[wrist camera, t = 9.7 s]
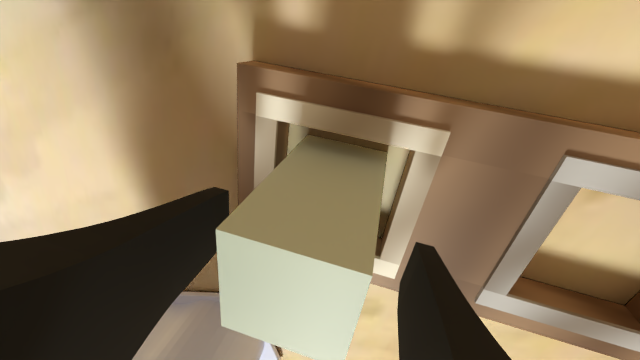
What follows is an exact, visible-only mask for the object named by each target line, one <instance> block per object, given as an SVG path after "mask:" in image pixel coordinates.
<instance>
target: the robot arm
mask: <svg viewBox="0 0 640 360" xmlns="http://www.w3.org/2000/svg"><path fill="white" fill-rule="evenodd" d="M228 216H229V191H227V190H224V189H220V188H216V187H213V188H209V189H206V190H203V191H200V192H197V193H194V194H191V195H188V196H186V197H183V198H180V199H177V200H174V201H172V202H169V203H166V204H163V205H160V206H157V207H154V208H151V209H148V210H145V211H142V212H139V213H136V214H132V215H129V216H126V217H123V218H119V219H116V220H112V221H108V222H104V223H100V224H96V225H92V226H88V227H84V228H79V229H74V230H69V231H64V232H59V233H54V234H49V235H44V236H38V237H32V238H26V239H20V240H13V241H6V242H0V360H281V358H280V356H279V354H278V351H277V349H276V347H275V345H273V344H270V343H267V342H264V341H262V340H259V339H256V338H253V337H251V336H248V335H245V334H242V333H240V332H237V331H234V330H231V329H228V328H226V327H223V326H221V312H220V295H219V293H211V292H183V290H184V289H185V288H186V287H187V286H188V285H189V283H190V282H191V281H192V280H193V279H194V278H195V277H196V275H197V274H198V273H199V272H200V271H201V270H202V269H203V267H204V266H205V265H206V264H207V263H208V262H209V260H210V259H211V258H212V257H213V256H214V254H215V253H216V252H217V245H216V228H217V227H218V226H219V225H220V224H221V223H222V222H223V221H224V220H225V219H226V218H227V217H228ZM398 338H399V360H511V358H510V357H509V356H508V355H507V353H506V352H505V351H504V350H503V349H502V347H501V346H500V345H499V344H498V342H497V341H496V340H495V338H494V337H493V336H492V335H491V333H490V332H489V331H488V329H487V328H486V326H485V325H484V324H483V322H482V321H481V319H480V318H479V317H478V315H477V314H476V313H475V311H474V310H473V308H472V307H471V305H470V304H469V302H468V301H467V299H466V298H465V296H464V295H463V293H462V292H461V290H460V289H459V287H458V285H457V284H456V282H455V281H454V279H453V277H452V276H451V274H450V272H449V271H448V269H447V267H446V266H445V264H444V262H443V261H442V259H441V257H440V256H439V254H438V252H437V251H436V249H435V247H434V246H430V245H426V244H423V243H419V242H416V243H415V246H414V248H413V251H412V253H411V256H410V258H409V261H408V263H407V266H406V268H405V271H404V273H403V276H402V278H401V280H400V285H399V296H398Z"/></svg>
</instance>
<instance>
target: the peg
mask: <svg viewBox="0 0 640 360" xmlns="http://www.w3.org/2000/svg"><path fill="white" fill-rule="evenodd" d="M386 161H387V152H383V151H379V150H375V149H370V148H366V147H361V146H357V145H352V144H348V143H343V142H339V141H335V140H330V139H326V138H321V137H317V136H312V135H307V136H306V137H305V138H304V139H303V140H302V141H301V142H300V143H299V144H298V145H297V146H296V147H295V148H294V149H293V151H292V152H291V153H290V154H289V155H288V156H287V157H286V158H285V159H284V160H283V161H282V162H281V163H280V164H279V165H278V166H277V167H276V168H275V169H274V170H273V171H272V172H271V173H270V174H269V175H268V176H267V177H266V178H265V179H264V180H263V181H262V182H261V183H260V184H259V185H258V186H257V187H256V188H255V189H254V190H253V191H252V192H251V193H250V194H249V196H248V197H247V198H246V199H245V200H244V201H243V202H242V203H241V204H240V205H239V206H238V207H237V208H236V209H235V210H234V211H233V212H232V213H231V214H230V215H229V216H228V217H227V218H226V219H225V220H224V221H223V222H222V223H221V224H220V225H219V226H218V227H217V228H216V245H217V262H218V278H219V295H220V312H221V326H223V327H226V328H228V329H231V330H234V331H237V332H240V333H242V334H245V335H248V336H251V337H253V338H256V339H259V340H262V341H264V342H267V343H270V344H273V345H276V346H278V347H281V348H284V349H287V350H289V351H292V352H295V353H298V354H300V355H303V356H306V357H309V358H312V359H314V360H345V358H346V355H347V352H348V349H349V346H350V343H351V340H352V337H353V334H354V331H355V328H356V325H357V322H358V319H359V316H360V313H361V310H362V306H363V303H364V300H365V297H366V294H367V291H368V288H369V285H370V282H371V279H372V276H373V267H374V259H375V251H376V243H377V234H378V226H379V218H380V210H381V202H382V193H383V185H384V177H385V169H386Z"/></svg>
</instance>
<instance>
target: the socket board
mask: <svg viewBox="0 0 640 360" xmlns="http://www.w3.org/2000/svg"><path fill="white" fill-rule="evenodd" d="M237 116H238V206H239V205H240V204H241V203H242V202H243V201H244V200H245V199H246V198H247V197H248V196H249V194H250V193H251V192H252V191H253V190H254V189H255V188H256V187H257V186H258V185H259V184H260V183H261V182H262V181H263V180H264V179H265V178H266V177H267V176H268V175H269V174H270V173H271V172H272V171H273V170H274V169H275V168H276V167H277V166H278V165H279V164H280V163H281V162H282V161H283V160H284V159H285V158H286V155H287V143H288V132H289V123H291V124H296V125H300V126H305V127H309V128H314V129H318V130H323V131H327V132H332V133H336V134H341V135H346V136H350V137H355V138H359V139H364V140H368V141H373V142H377V143H382V144H386V145H391V146H395V147H400V148H405V149H409V150H410V153H409V156H408V159H407V162H406V165H405V168H404V171H403V174H402V177H401V181H400V184H399V187H398V190H397V193H396V196H395V199H394V202H393V206H392V209H391V212H390V215H389V218H388V221H387V224H386V227H385V230H384V234H383V237H382V239H381V238H378V237H377V243H376V251H375V259H374V267H373V276H372V279H371V282H370V283H371V284H374V285H378V286H381V287H384V288H387V289H391V290H394V291H397V292H399V285H400V280H401V278H402V276H403V273H404V271H405V268H406V266H407V263H408V261H409V258H410V256H411V253H412V251H413V248H414V246H415V243H416V242H419V243H423V244H426V245H430V246H434V247H435V249H436V251H437V252H438V254H439V256H440V257H441V259H442V261H443V262H444V264H445V266H446V267H447V269H448V271H449V272H450V274H451V276H452V277H453V279H454V281H455V282H456V284H457V285H458V287H459V289H460V290H461V292H462V293H463V295H464V296H465V298H466V299H467V301H468V302H469V304H470V305H471V307H472V308H473V310H474V311H475V313H476V314H477V315H478V316H480V317H483V318H486V319H489V320H493V321H496V322H499V323H503V324H506V325H509V326H512V327H516V328H519V329H522V330H526V331H529V332H532V333H536V334H539V335H542V336H545V337H549V338H552V339H555V340H559V341H562V342H565V343H568V344H572V345H575V346H578V347H582V348H585V349H588V350H591V351H595V352H598V353H601V354H605V355H608V356H611V357H614V358H618V359H621V360H640V292H638V293H637V294H636V295H635V296H634V297H633V298H632V299H631V300H630V301H629V302H628V303H627V304H626V305H625V306H624V305H620V304H617V303H613V302H610V301H606V300H602V299H599V298H595V297H591V296H588V295H584V294H581V293H577V292H573V291H570V290H566V289H562V288H559V287H555V286H552V285H548V284H544V283H541V282H537V281H533V280H530V279H526V278H523V277H519V276H520V275H521V274H522V272H523V271H524V269H525V268H526V266H527V265H528V264H529V262H530V261H531V259H532V258H533V256H534V255H535V253H536V252H537V251H538V249H539V248H540V246H541V245H542V243H543V242H544V241H545V239H546V238H547V236H548V235H549V233H550V232H551V230H552V229H553V228H554V226H555V225H556V223H557V222H558V220H559V219H560V218H561V216H562V215H563V213H564V212H565V210H566V209H567V207H568V206H569V205H570V203H571V202H572V200H573V199H574V197H575V196H576V195H577V193H578V192H579V190H580V189H581V188H586V189H591V190H595V191H600V192H604V193H609V194H613V195H618V196H622V197H627V198H631V199H636V200H640V133H639V132H633V131H628V130H623V129H617V128H612V127H607V126H601V125H596V124H590V123H585V122H580V121H574V120H569V119H564V118H558V117H553V116H547V115H542V114H537V113H531V112H526V111H521V110H515V109H510V108H504V107H499V106H494V105H488V104H483V103H478V102H472V101H467V100H462V99H456V98H451V97H445V96H440V95H435V94H429V93H424V92H419V91H413V90H408V89H402V88H397V87H392V86H386V85H381V84H376V83H370V82H365V81H359V80H354V79H349V78H343V77H338V76H333V75H327V74H322V73H316V72H311V71H306V70H300V69H295V68H290V67H284V66H279V65H274V64H268V63H263V62H257V61H249V62H241V63H237Z"/></svg>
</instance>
